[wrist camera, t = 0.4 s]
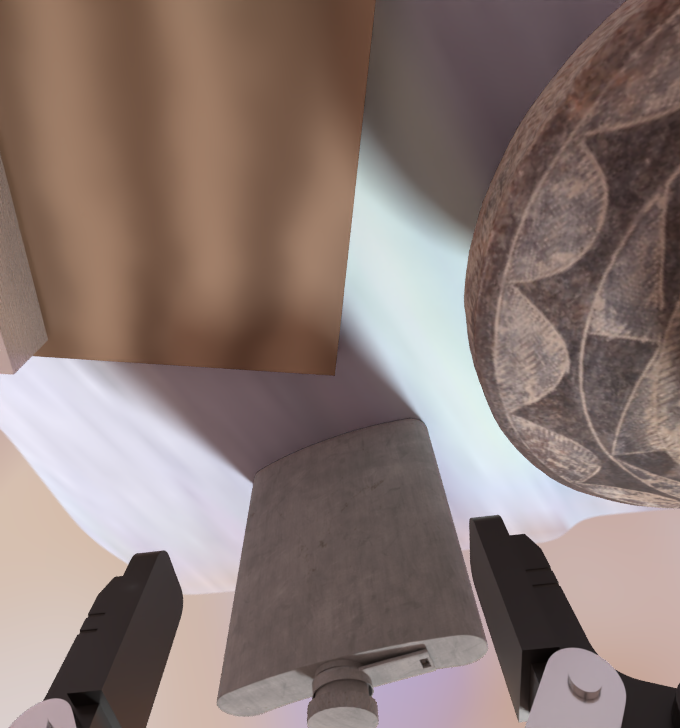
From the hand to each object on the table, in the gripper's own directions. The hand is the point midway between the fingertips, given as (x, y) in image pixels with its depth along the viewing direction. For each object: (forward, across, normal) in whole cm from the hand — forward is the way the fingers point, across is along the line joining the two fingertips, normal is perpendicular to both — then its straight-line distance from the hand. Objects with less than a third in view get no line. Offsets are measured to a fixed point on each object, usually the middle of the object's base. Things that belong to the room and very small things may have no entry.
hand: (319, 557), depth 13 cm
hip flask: (+25, +1, +14) cm, 29 cm away
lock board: (+22, +9, -10) cm, 25 cm away
